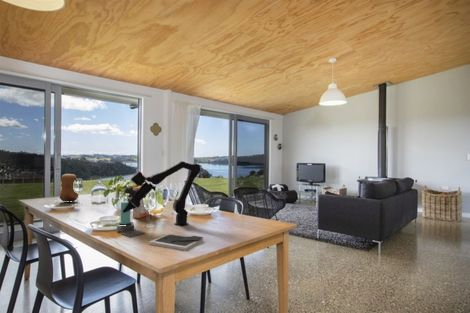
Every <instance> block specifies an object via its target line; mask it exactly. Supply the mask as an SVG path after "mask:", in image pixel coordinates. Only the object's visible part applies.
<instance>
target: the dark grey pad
mask: <svg viewBox="0 0 470 313" xmlns="http://www.w3.org/2000/svg"><path fill="white" fill-rule="evenodd" d="M120 235H122V236H125V237H127V238H133V237H137V236H142V235H146V232H145V231H141V230H138V229H134V230H132V231H124V232H120Z"/></svg>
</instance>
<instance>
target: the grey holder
mask: <svg viewBox="0 0 470 313" xmlns="http://www.w3.org/2000/svg"><path fill="white" fill-rule="evenodd" d="M119 225H126V226H119ZM132 230H135V224H134V222H133V221H130V223H128V224H121V223H120V222H116V232H117V233H124V232H128V231H132ZM123 231H124V232H123Z"/></svg>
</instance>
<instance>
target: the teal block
mask: <svg viewBox="0 0 470 313" xmlns="http://www.w3.org/2000/svg"><path fill="white" fill-rule="evenodd" d="M127 205H128V201H127V200H124V201H122V200H121V201H120V215H119V216H120V222H119V223H121V224H128V223H130V222H131V210H129V211H127V212H125V213H123V210H124V209H125V207H126V206H127Z"/></svg>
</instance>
